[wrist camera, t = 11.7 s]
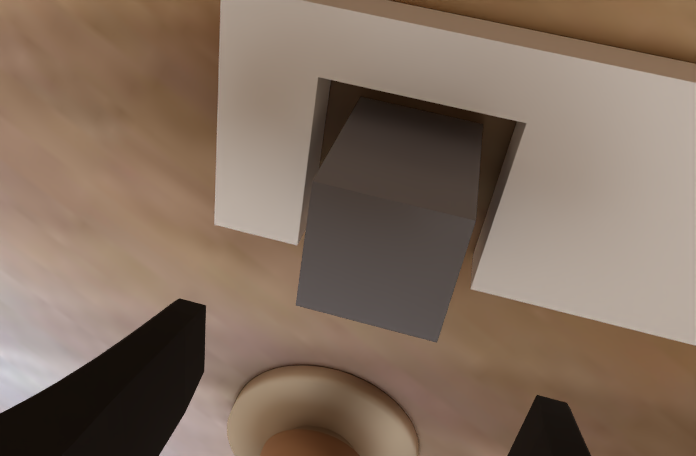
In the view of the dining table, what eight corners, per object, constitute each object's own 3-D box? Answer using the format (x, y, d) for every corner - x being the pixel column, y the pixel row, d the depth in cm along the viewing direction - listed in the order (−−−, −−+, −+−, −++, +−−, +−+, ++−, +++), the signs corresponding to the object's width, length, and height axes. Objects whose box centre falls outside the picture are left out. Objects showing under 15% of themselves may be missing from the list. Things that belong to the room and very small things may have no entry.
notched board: (877, 101, 16) (919, 129, 15) (730, 318, 21) (750, 359, 19) (246, -29, 18) (221, -17, 16) (235, 196, 23) (214, 224, 21)
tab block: (483, 123, 19) (475, 220, 14) (452, 227, 21) (436, 342, 16) (360, 96, 19) (312, 181, 14) (343, 200, 22) (295, 305, 17)
